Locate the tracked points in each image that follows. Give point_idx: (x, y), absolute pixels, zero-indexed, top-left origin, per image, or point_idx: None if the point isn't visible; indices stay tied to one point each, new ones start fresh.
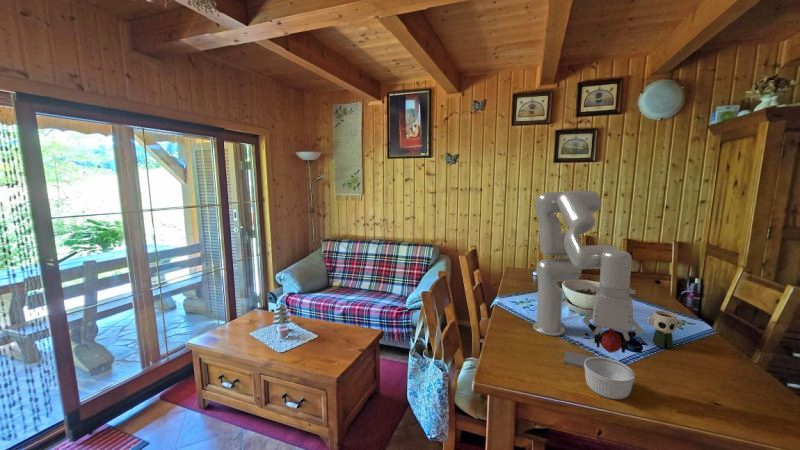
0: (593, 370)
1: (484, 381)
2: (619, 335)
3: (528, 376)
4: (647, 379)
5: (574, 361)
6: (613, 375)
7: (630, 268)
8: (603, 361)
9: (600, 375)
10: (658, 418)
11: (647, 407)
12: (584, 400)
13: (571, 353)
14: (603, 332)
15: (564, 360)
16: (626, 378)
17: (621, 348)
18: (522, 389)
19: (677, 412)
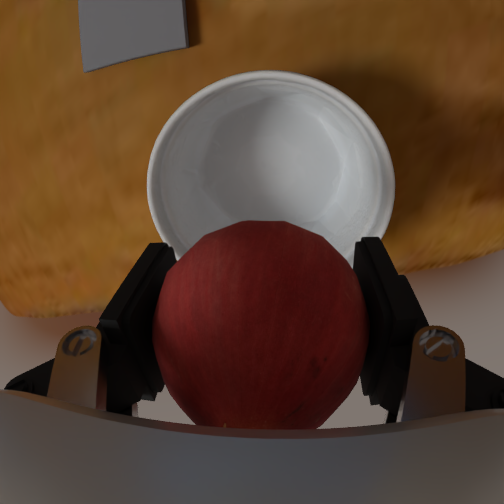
0: (203, 122)
1: (14, 312)
2: (348, 385)
3: (46, 243)
4: (423, 13)
5: (120, 40)
6: (295, 98)
7: None
8: (238, 84)
9: (238, 106)
10: (414, 261)
11: (398, 220)
12: None
13: None
14: (167, 383)
15: (85, 65)
16: (353, 136)
17: (354, 265)
18: (70, 307)
19: (472, 203)
